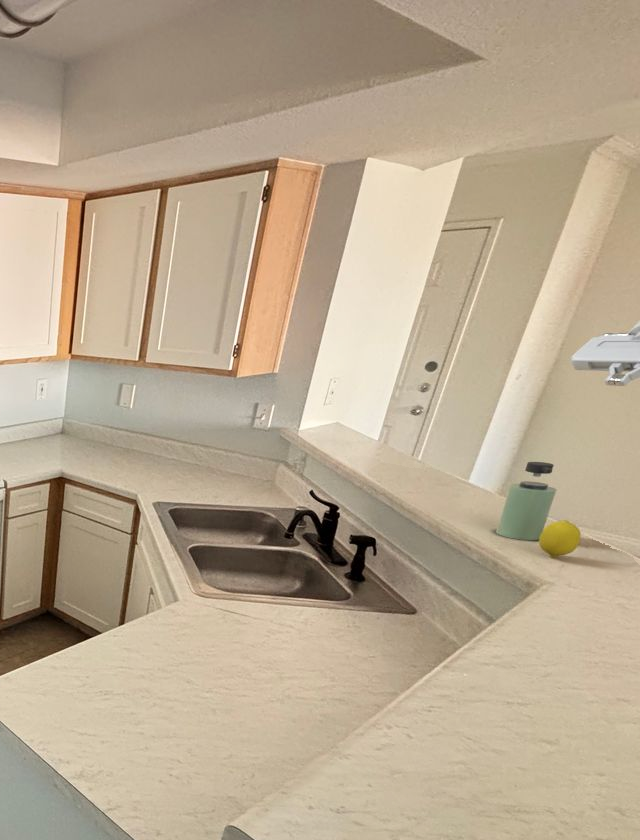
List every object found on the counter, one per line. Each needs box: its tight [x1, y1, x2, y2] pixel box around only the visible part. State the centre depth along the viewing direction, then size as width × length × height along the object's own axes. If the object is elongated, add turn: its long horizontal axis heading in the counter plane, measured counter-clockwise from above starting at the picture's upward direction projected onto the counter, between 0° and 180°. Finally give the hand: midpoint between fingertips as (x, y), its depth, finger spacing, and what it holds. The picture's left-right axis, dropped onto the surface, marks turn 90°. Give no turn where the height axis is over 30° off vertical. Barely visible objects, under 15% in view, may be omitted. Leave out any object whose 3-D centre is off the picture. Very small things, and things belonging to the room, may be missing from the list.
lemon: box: [538, 519, 581, 559], centre depth 118 cm, size 6×6×8 cm
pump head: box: [524, 461, 554, 478], centre depth 126 cm, size 4×7×3 cm, turn 153°
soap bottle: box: [495, 480, 557, 541], centre depth 130 cm, size 7×7×12 cm
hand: (614, 383), depth 124 cm, fingers closed
